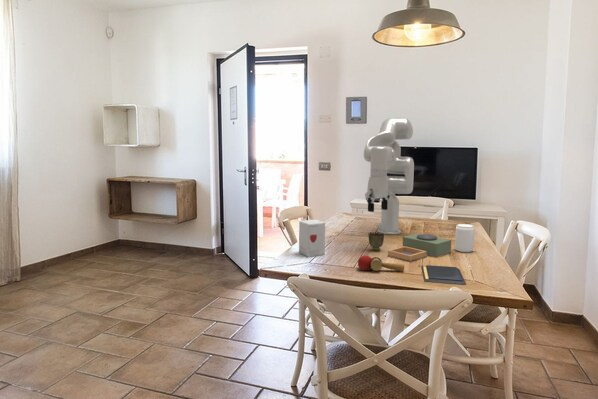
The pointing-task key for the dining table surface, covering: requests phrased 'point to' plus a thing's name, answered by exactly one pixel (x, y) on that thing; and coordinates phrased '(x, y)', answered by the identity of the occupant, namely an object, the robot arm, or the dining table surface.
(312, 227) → the supplement box
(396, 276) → the dining table surface
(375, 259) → the kendama
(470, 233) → the beverage can
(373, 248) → the dark bronze domed piece
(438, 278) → the wallet
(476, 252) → the dining table surface
